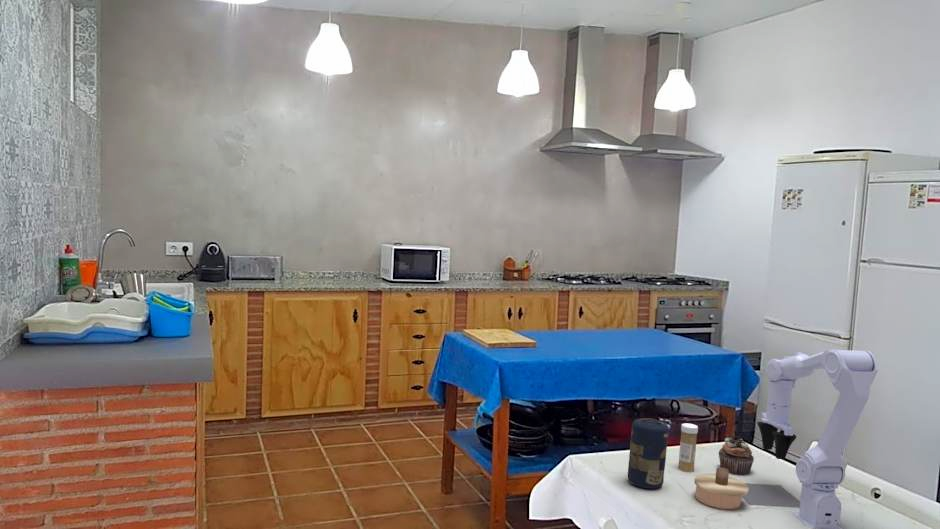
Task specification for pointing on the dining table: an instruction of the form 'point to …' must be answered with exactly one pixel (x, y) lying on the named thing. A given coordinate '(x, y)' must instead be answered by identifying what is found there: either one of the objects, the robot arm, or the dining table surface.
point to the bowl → (718, 499)
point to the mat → (770, 496)
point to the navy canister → (647, 453)
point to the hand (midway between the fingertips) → (773, 453)
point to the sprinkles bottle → (687, 447)
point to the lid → (721, 483)
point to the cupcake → (736, 456)
